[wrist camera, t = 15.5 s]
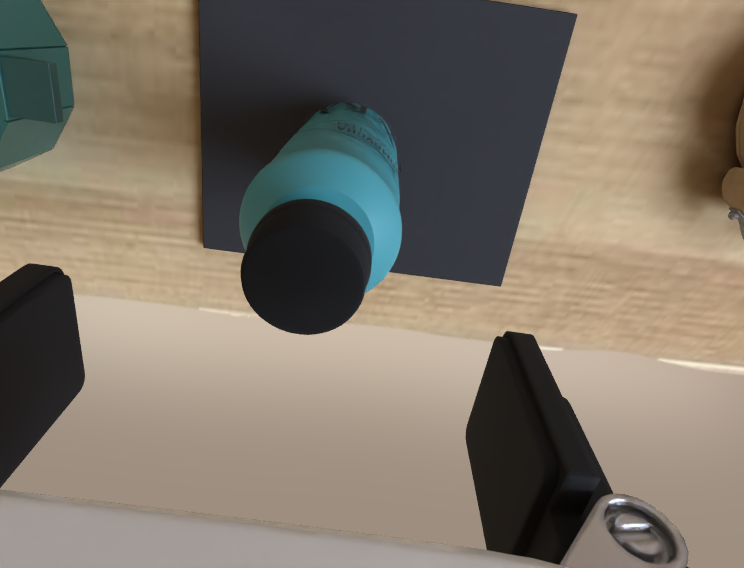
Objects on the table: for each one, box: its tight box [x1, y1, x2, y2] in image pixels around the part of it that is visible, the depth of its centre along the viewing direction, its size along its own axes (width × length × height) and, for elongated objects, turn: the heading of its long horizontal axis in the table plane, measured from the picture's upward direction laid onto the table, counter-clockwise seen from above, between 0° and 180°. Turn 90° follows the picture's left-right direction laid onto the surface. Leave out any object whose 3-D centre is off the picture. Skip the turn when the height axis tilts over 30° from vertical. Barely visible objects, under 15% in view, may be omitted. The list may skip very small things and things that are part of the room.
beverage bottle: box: [239, 100, 403, 335], centre depth 24 cm, size 6×7×20 cm
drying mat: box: [199, 0, 577, 286], centre depth 33 cm, size 18×22×1 cm
